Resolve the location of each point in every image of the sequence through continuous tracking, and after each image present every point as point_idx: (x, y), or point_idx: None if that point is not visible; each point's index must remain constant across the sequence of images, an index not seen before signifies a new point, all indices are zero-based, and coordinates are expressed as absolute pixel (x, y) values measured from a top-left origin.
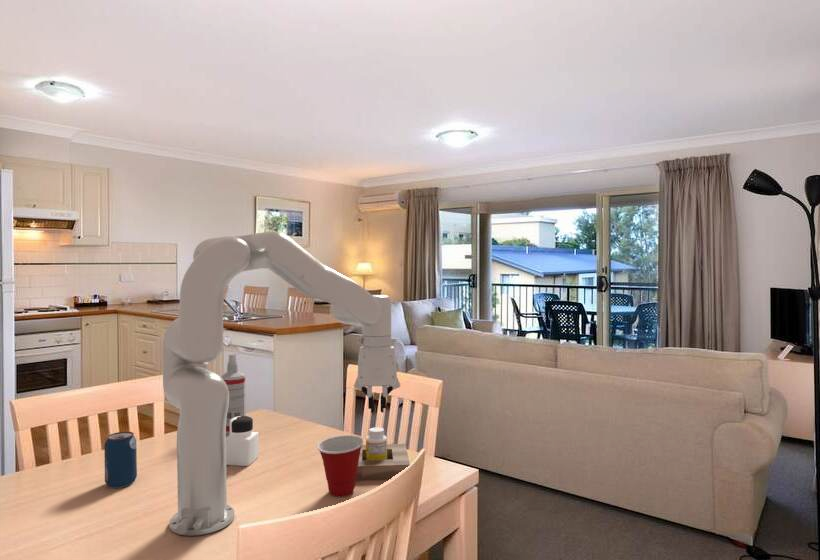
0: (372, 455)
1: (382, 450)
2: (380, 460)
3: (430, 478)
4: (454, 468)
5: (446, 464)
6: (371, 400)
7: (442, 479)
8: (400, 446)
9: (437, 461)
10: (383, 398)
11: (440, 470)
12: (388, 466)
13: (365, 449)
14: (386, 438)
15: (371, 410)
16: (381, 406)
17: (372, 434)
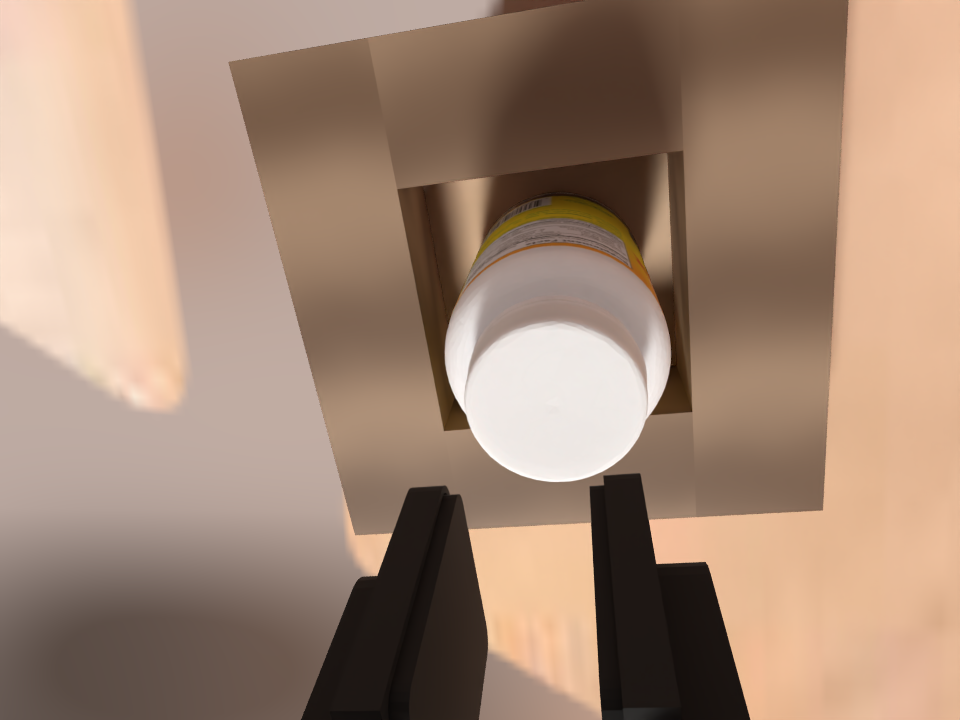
0: (588, 218)
1: (491, 248)
2: (507, 154)
3: (128, 73)
4: (14, 273)
5: (82, 341)
6: (659, 648)
7: (40, 58)
8: (381, 480)
9: (151, 391)
10: (337, 689)
11: (95, 233)
12: (420, 29)
13: (664, 418)
14: (446, 347)
15: (636, 488)
16: (431, 558)
17: (597, 316)
